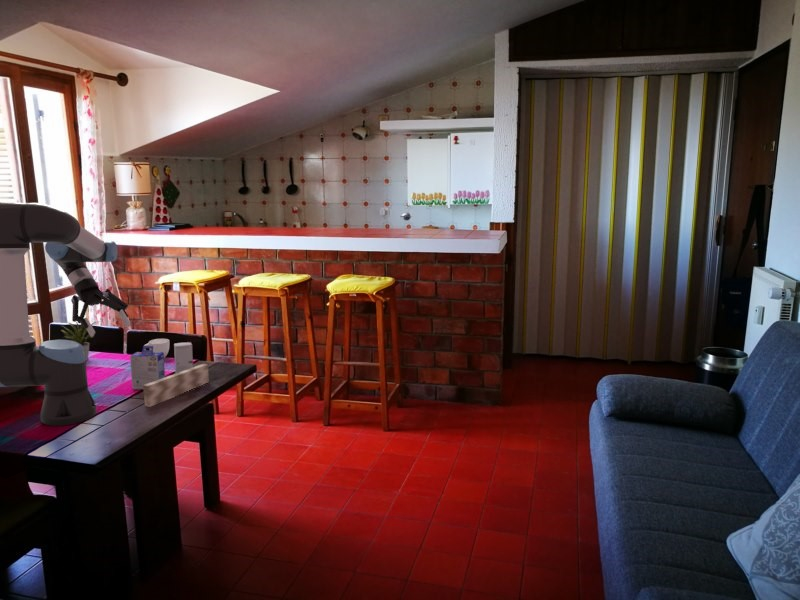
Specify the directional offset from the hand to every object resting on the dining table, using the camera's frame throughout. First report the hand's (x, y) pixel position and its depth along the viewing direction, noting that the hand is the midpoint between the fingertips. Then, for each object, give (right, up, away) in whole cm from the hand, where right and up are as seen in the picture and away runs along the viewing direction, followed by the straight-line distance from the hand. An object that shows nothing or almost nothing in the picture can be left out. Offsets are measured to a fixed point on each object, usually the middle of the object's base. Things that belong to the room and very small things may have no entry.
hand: (111, 330), depth 219 cm
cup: (+5, -13, +28) cm, 31 cm away
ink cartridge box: (+16, -20, -6) cm, 26 cm away
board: (+29, -21, -13) cm, 38 cm away
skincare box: (+24, -17, +6) cm, 30 cm away
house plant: (-23, -13, +25) cm, 36 cm away
